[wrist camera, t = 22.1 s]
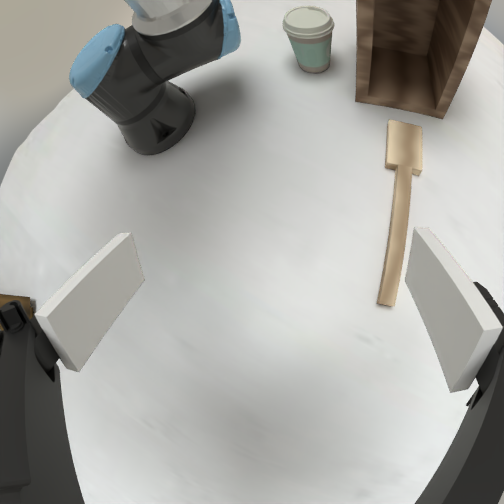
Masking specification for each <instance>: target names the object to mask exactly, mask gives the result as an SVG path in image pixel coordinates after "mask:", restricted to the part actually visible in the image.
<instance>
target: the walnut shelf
mask: <svg viewBox="0 0 504 504" xmlns="http://www.w3.org/2000/svg"><path fill="white" fill-rule="evenodd" d="M491 2H492V0H356V18H357V62H356V98H355V102H362V103H368V104H375V105H381V106H386V107H392V108H397V109H402V110H407V111H411V112H416V113H420V114H424V115H429V116H433V117H436V118H440V119H443V118H444V116H445V114H446V112H447V110H448V108H449V106H450V104H451V101H452V99H453V97H454V95H455V93H456V91H457V89H458V87H459V84H460V82H461V80H462V78H463V75H464V73H465V71H466V69H467V66H468V64H469V62H470V59H471V57H472V54H473V52H474V49H475V47H476V44H477V42H478V39H479V36H480V34H481V31H482V28H483V25H484V23H485V20H486V17H487V14H488V11H489V8H490V5H491Z"/></svg>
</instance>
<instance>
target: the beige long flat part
mask: <svg viewBox="0 0 504 504" xmlns="http://www.w3.org/2000/svg"><path fill="white" fill-rule="evenodd" d="M385 168H388V169H392V170H395V183H394V194H393V204H392V213H391V222H390V229H389V236H388V243H387V250H386V256H385V262H384V268H383V273H382V279H381V284H380V289H379V294H378V299H377V303H378V304H383V305H388V306H395V301H396V297H397V292H398V286H399V281H400V275H401V269H402V263H403V257H404V250H405V243H406V235H407V226H408V217H409V207H410V194H411V178H412V174H414V175H418V176H419V175H420V173H421V171H422V127H420V126H416V125H412V124H408V123H403V122H399V121H395V120H390V119H389V122H388V126H387V146H386V161H385Z"/></svg>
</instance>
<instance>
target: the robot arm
mask: <svg viewBox="0 0 504 504" xmlns="http://www.w3.org/2000/svg"><path fill="white" fill-rule="evenodd" d="M124 1H125V2H126V3H127V4H128V5H129V6H130V7H131V8H132V9H133V10H134V14H133V17H132V26H130V27H128V28H127V29H125V28H124V27H123V26H121V25H119V24H113V25H112V26H108V27H106V28H104V29H103V30H102V31H100V32H99V33H98V34H96V35H95V36H94V37H93V38H92V39H91V40H90V41H89V42H88V43H87V44H86V45H85V46H84V48H83V49H82V50H81V52H80V53H79V54H78V56H77V58H76V59H75V61H74V63H73V65H72V68H71V70H70V75H69V79H70V84H71V85H72V87H74V89H75V90H76V91H77V92H78V93H79V94H80V95H81V96H82V98H85V99H87V100H88V101H89V102H90V103H92V104H93V105H94V106H95V107H97V108H98V109H99V110H100V111H102V112H103V113H104V114H105V115H106V116H108V117H109V118H110V119H111V120H113V121H114V122H115V123H116V124H117V125H118V127H119V129H120V131H121V132H122V134H123V136H124V138H125V141H126V143H127V144H128V145H129V146H130V147H131V148H132V149H134V150H135V151H136V152H138V153H140V154H143V155H152V154H157V153H160V152H162V151H165V150H167V149H168V148H170V147H171V146H173V145H174V144H176V143H177V142H178V141H179V140H180V139H181V138H182V137H183V136H184V135H185V133H186V132H187V131H188V129H189V128H190V126H191V124H192V121H193V119H194V115H195V105H194V102H193V100H192V99H191V97H190V96H189V95H188V93H187V92H186V91H185V90H183V89H182V88H180V87H178V86H176V85H174V84H173V83H171V82H169V81H168V80H170V79H172V78H175V77H177V76H179V75H181V74H183V73H186V72H188V71H190V70H192V69H195V68H197V67H199V66H202V65H204V64H207V63H209V62H212V61H214V60H218V59H220V58H221V57H222V56H225V55H227V54H229V53H231V52H234V51H235V50H237V49H238V47H239V46H240V42H241V36H240V30H239V25H238V21H237V18H236V16H235V13H234V9H233V6H232V3H231V1H230V0H124ZM144 281H145V279H144V275H143V272H142V269H141V265H140V262H139V258H138V255H137V251H136V248H135V244H134V240H133V237H132V233H119V234H118V235H117V236H115V237H114V238H113V239H112V240H111V241H110V242H109V243H107V244H106V245H105V246H104V247H103V248H102V249H101V250H100V251H98V252H97V253H96V254H95V255H94V256H93V257H92V258H91V259H90V260H89V261H88V262H86V263H85V264H84V265H83V266H82V267H81V268H80V269H79V270H78V271H77V272H76V273H75V274H74V275H73V276H72V277H71V278H70V279H69V280H68V281H67V282H65V283H64V284H63V285H62V286H61V287H60V288H59V289H58V290H57V291H56V292H55V293H54V294H53V295H52V296H51V298H50V299H49V300H48V301H47V302H46V303H45V304H44V305H43V306H42V307H41V308H40V309H39V310H38V311H37V312H36V313H35V314H34V316H33V317H32V318H31V319H29V317H28V315H27V314H26V312H25V310H24V308H23V306H22V304H21V302H20V301H19V300H13V301H10V302H8V303H6V304H4V305H3V306H2V307H1V308H0V324H1V326H2V328H3V329H4V330H3V331H1V329H0V504H85V503H84V500H83V497H82V493H81V490H80V486H79V483H78V479H77V475H76V472H75V468H74V463H73V459H72V455H71V450H70V445H69V440H68V435H67V429H66V423H65V416H64V409H63V401H62V393H61V382H60V370H59V367H58V365H57V364H56V362H57V361H58V359H59V358H60V360H61V361H62V363H63V364H64V366H65V367H66V368H67V369H70V370H73V371H76V372H80V370H81V369H82V367H83V366H84V364H85V363H86V361H87V360H88V358H89V357H90V355H91V354H92V353H93V351H94V350H95V348H96V347H97V345H98V344H99V342H100V341H101V339H102V338H103V337H104V335H105V334H106V332H107V331H108V329H109V328H110V327H111V325H112V324H113V322H114V321H115V320H116V318H117V317H118V316H119V314H120V313H121V311H122V310H123V309H124V307H125V306H126V305H127V303H128V302H129V301H130V299H131V298H132V296H133V295H134V294H135V292H136V291H137V290H138V288H139V287H140V286H141V285H142V283H143V282H144ZM405 282H406V284H407V286H408V288H409V291H410V293H411V295H412V297H413V299H414V301H415V304H416V306H417V308H418V310H419V313H420V315H421V317H422V319H423V322H424V324H425V326H426V329H427V331H428V334H429V336H430V339H431V341H432V344H433V346H434V349H435V351H436V354H437V357H438V359H439V362H440V365H441V367H442V370H443V373H444V376H445V379H446V382H447V385H448V388H449V391H450V393H452V392H457V391H461V390H466V389H469V387H470V385H471V384H472V382H473V381H474V379H475V378H476V379H477V382H478V384H479V387H478V388H477V390H476V391H475V393H474V394H473V395H472V397H471V398H470V400H469V401H468V403H467V404H466V406H469V408H468V410H467V412H466V415H465V417H464V419H463V421H462V423H461V426H460V428H459V430H458V432H457V434H456V436H455V438H454V440H453V442H452V444H451V446H450V448H449V449H448V451H447V453H446V455H445V457H444V459H443V460H442V462H441V464H440V466H439V467H438V469H437V471H436V472H435V474H434V476H433V477H432V479H431V480H430V482H429V483H428V485H427V487H426V488H425V490H424V491H423V493H422V494H421V495H420V497H419V498H418V500H417V501H416V503H415V504H498V502H499V500H500V498H501V496H502V493H503V491H504V313H503V312H502V310H501V309H500V307H498V304H497V303H496V302H495V300H493V297H492V296H491V295H490V293H489V292H488V290H487V289H486V288H484V287H483V286H482V285H480V284H479V283H478V282H472V281H471V279H470V278H469V277H468V275H467V274H466V273H465V271H464V270H463V269H462V267H461V266H460V265H459V264H458V262H457V261H456V260H455V258H454V257H453V256H452V255H451V253H450V252H449V251H448V250H447V249H446V247H445V246H444V245H443V244H442V243H441V241H440V240H439V239H438V238H437V237H436V235H435V234H434V233H433V232H432V231H431V230H430V229H429V228H422V227H414V230H413V237H412V244H411V250H410V256H409V261H408V267H407V272H406V277H405ZM469 404H470V405H469Z"/></svg>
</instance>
